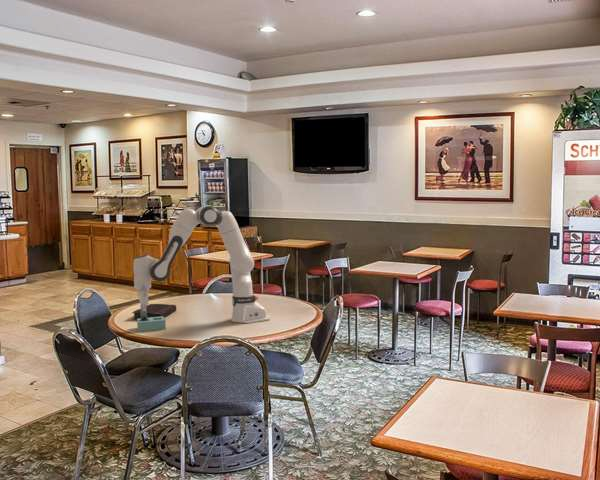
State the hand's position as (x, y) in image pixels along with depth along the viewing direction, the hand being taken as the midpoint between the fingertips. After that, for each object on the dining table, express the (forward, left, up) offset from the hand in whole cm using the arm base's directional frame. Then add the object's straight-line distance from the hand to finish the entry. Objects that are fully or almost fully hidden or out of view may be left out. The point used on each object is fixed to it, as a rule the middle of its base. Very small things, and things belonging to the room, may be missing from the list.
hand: (143, 310), depth 310 cm
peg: (0, 0, -6) cm, 6 cm away
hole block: (-4, 0, -10) cm, 11 cm away
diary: (-9, -32, -11) cm, 35 cm away
